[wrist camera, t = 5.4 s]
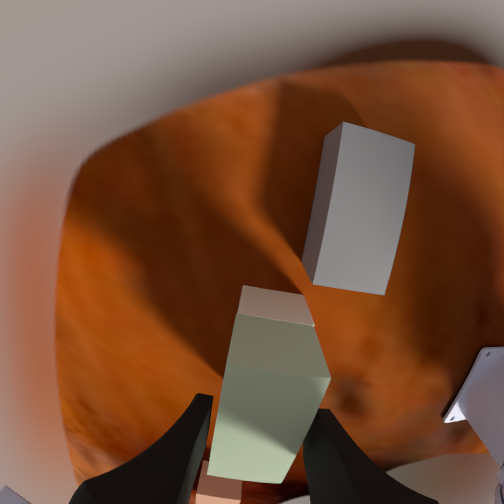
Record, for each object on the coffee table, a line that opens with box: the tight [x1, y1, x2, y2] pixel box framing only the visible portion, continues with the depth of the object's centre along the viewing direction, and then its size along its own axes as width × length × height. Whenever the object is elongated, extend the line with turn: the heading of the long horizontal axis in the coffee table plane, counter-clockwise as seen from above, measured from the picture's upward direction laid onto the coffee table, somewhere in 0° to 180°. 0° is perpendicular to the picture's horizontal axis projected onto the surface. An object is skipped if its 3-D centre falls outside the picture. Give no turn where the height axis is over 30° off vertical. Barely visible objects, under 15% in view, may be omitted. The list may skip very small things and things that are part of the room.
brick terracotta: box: [196, 460, 242, 504], centre depth 19 cm, size 4×7×4 cm, turn 170°
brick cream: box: [238, 285, 314, 327], centre depth 15 cm, size 4×7×4 cm, turn 170°
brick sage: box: [207, 313, 331, 483], centre depth 11 cm, size 4×7×4 cm, turn 170°
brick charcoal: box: [301, 122, 415, 295], centre depth 13 cm, size 4×7×4 cm, turn 170°
